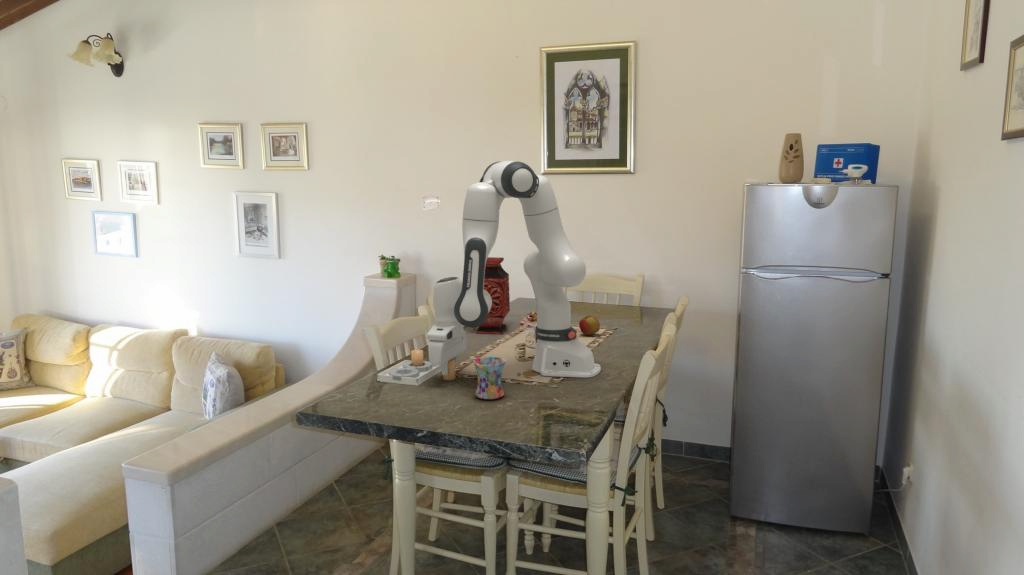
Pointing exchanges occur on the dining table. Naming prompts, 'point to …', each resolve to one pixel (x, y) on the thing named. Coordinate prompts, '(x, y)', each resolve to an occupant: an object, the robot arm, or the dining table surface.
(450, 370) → the orange pillar candle
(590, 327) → the apple
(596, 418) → the dining table surface
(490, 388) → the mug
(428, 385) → the dining table surface
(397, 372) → the white candle tray
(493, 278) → the vase
